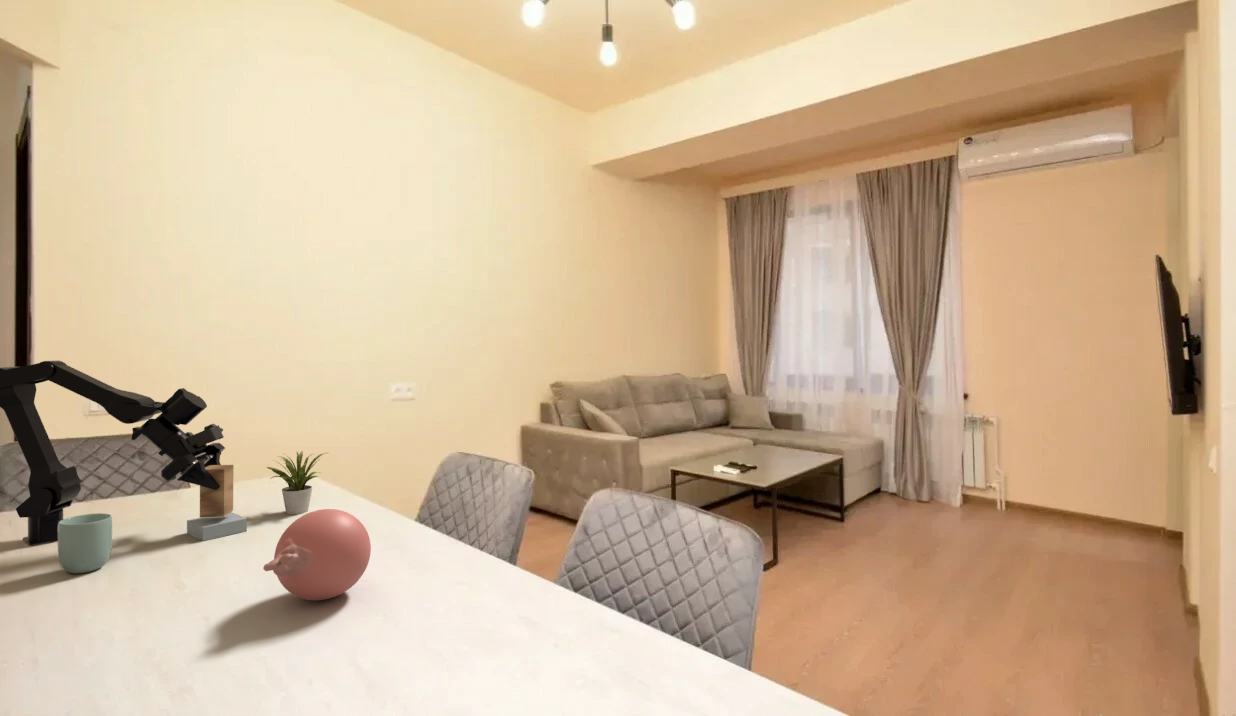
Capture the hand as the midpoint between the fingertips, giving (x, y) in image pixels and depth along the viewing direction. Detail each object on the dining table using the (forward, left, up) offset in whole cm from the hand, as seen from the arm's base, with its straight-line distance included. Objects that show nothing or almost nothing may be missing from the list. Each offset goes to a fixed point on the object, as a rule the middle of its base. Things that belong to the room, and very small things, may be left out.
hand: (223, 485), depth 141 cm
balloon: (+53, -7, -11) cm, 55 cm away
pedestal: (-1, -1, -11) cm, 11 cm away
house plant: (-4, +20, -11) cm, 23 cm away
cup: (+5, -26, -11) cm, 29 cm away
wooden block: (-1, -1, -7) cm, 7 cm away
